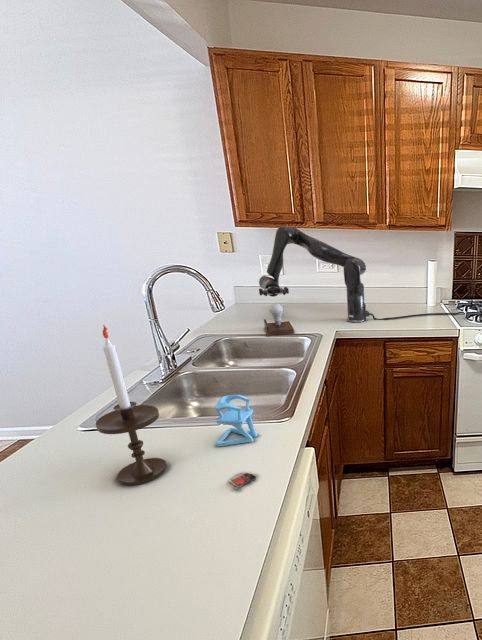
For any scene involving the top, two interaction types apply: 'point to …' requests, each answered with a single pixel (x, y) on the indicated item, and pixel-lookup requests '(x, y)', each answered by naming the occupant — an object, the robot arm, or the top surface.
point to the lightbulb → (276, 313)
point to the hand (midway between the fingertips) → (275, 293)
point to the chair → (235, 420)
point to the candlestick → (129, 425)
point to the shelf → (278, 328)
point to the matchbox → (242, 479)
